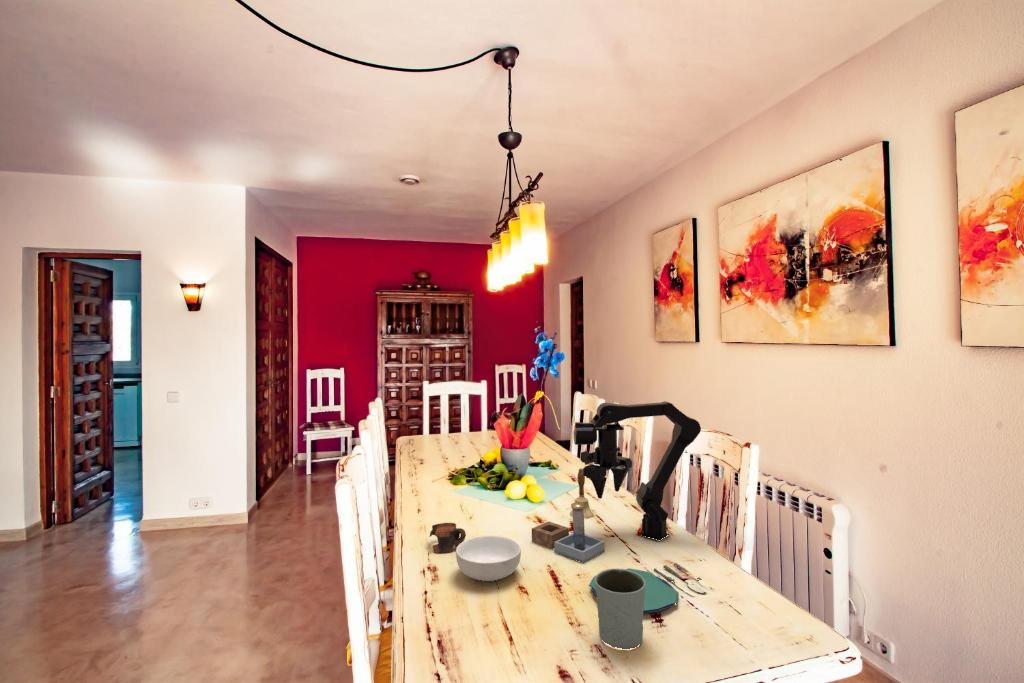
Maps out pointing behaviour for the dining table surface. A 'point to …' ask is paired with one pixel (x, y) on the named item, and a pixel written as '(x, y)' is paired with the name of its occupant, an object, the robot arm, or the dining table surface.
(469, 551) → the cereal bowl
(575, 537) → the pin
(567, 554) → the slate tray
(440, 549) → the brown clay jug
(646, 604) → the cutlery set
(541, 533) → the walnut block
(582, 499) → the hand bell
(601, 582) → the grey cylindrical pot
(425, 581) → the dining table surface
